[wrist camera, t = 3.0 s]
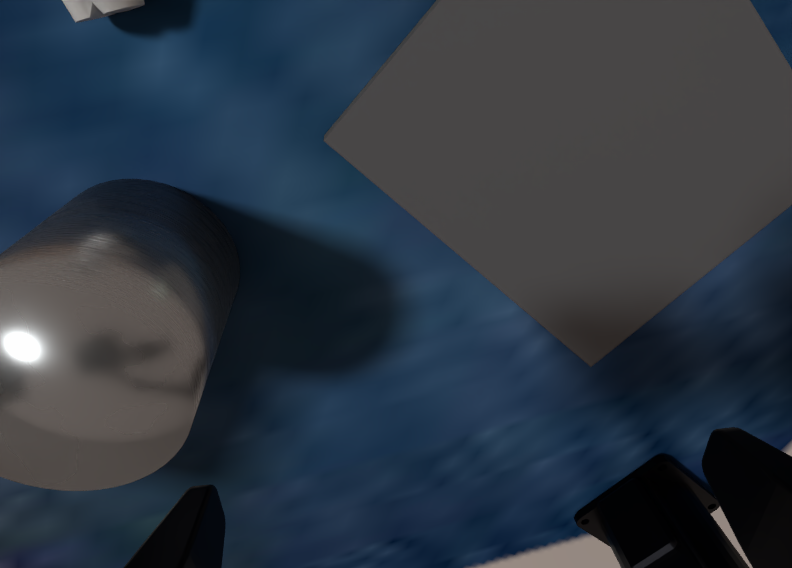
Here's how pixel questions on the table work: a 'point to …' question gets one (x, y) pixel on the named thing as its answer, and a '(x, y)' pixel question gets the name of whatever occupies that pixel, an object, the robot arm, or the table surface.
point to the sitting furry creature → (98, 8)
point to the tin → (109, 334)
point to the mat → (582, 148)
